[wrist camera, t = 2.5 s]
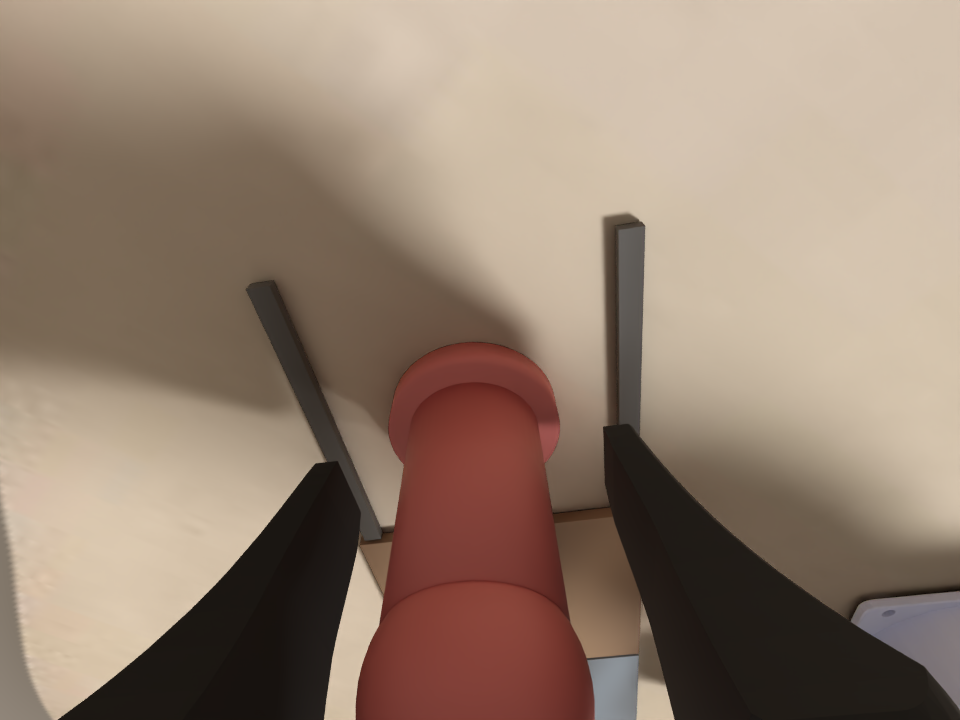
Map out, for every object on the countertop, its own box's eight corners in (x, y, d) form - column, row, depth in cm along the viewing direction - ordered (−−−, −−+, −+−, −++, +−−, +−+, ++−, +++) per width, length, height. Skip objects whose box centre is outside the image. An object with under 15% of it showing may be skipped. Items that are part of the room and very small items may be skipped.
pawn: (547, 330, 13) (660, 783, 5) (560, 457, 16) (647, 884, 8) (373, 355, 14) (236, 813, 6) (414, 475, 16) (359, 899, 8)
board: (650, 220, 11) (655, 226, 11) (633, 731, 28) (635, 739, 28) (243, 285, 12) (236, 292, 12) (460, 744, 29) (460, 753, 29)
